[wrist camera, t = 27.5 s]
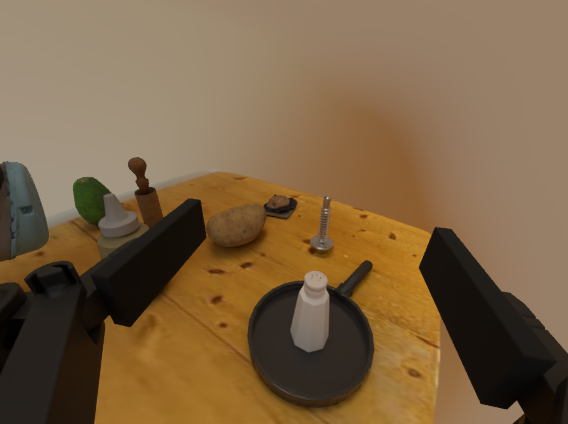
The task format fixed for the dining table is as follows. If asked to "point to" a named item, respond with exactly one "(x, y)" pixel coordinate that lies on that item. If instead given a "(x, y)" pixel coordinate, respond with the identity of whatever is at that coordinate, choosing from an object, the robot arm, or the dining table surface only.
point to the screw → (323, 230)
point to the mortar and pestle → (145, 194)
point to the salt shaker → (311, 313)
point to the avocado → (90, 199)
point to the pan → (314, 365)
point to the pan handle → (353, 280)
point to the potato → (236, 225)
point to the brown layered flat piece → (280, 206)
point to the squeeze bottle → (117, 226)
